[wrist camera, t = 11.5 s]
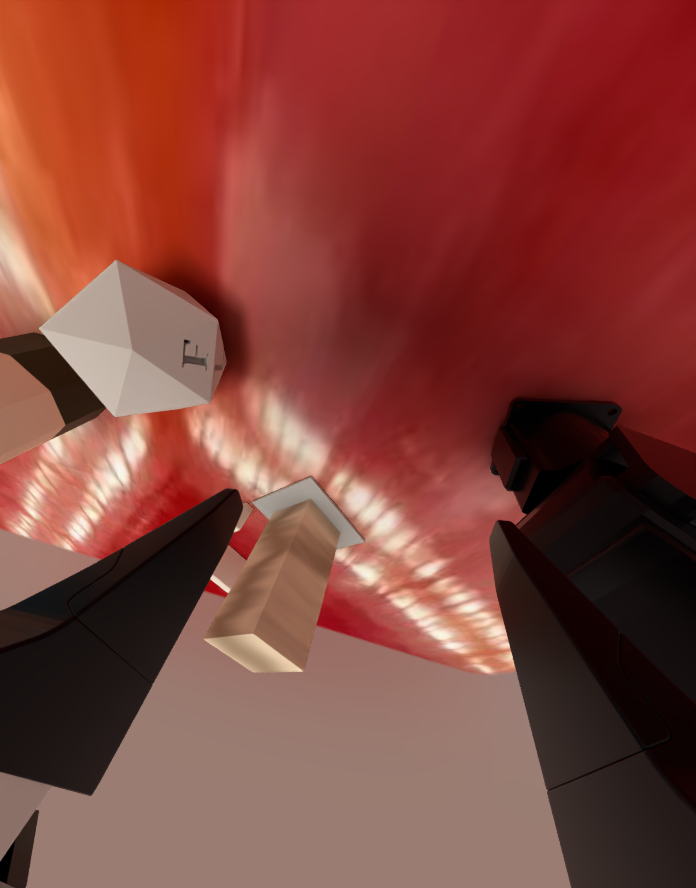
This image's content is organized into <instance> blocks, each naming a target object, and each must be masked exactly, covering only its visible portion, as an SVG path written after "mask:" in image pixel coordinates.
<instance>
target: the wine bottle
mask: <svg viewBox="0 0 696 888" xmlns="http://www.w3.org/2000/svg"><path fill="white" fill-rule="evenodd" d="M104 409H106V407H105V405H104V404H103V403H102V402H101V401H100V400H99V398H98V397H97V396H96V395H95V394H94V393H93V391H92V390H91V389H90V388H89V387H88V386H87V384H86V383H85V382H84V381H83V380H82V378H81V377H80V376H79V375H78V374H77V373H76V371H75V370H74V369H73V368H72V367H71V366H70V364H69V363H68V362H67V361H66V360H65V359H64V357H63V356H62V355H61V354H60V353H59V352H58V350H57V349H56V348H55V347H54V346H53V345H52V343H51V342H50V341H49V340H48V339H47V338H46V336H44V335H40V334H37V333H29V334H24V335H18V336H13V337H7V338H2V339H0V464H2V463H4V462H6V461H8V460H10V459H12V458H14V457H16V456H18V455H20V454H22V453H24V452H26V451H28V450H31V449H33V448H35V447H37V446H39V445H41V444H43V443H45V442H47V441H49V440H51V439H53V438H55V437H57V436H59V435H61V434H63V433H65V432H68V431H70V430H72V429H74V428H76V427H78V426H80V425H82V424H84V423H86V422H88V421H90V420H92V419H94V418H96V417H97V416H98V415H99V414H100V413H101V412H102V411H103V410H104Z"/></svg>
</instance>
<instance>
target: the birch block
mask: <svg viewBox="0 0 696 888" xmlns="http://www.w3.org/2000/svg"><path fill="white" fill-rule="evenodd" d="M339 537H340V531H339V530H338V529H337V528H336V527H335V526H334V525H333V523H332V522H331V521H330V520H329V519H328V518H327V517H326V515H325V514H324V513H323V512H322V511H321V510H320V508H319V507H318V506H317V505H316V504H315V503H314V502H313V500H312V499H308V500H306V501H303V502H301V503H298V504H295V505H293V506H290V507H287V508H285V509H282V510H280V511H277V512H274V513H273V514H272V516H271V518H270V520H269V521H268V523H267V525H266V527H265V529H264V530H263V532H262V534H261V536H260V538H259V539H258V541H257V543H256V545H255V547H254V548H253V550H252V552H251V554H250V556H249V557H248V559H247V561H246V563H245V565H244V566H243V568H242V570H241V572H240V574H239V576H238V577H237V579H236V581H235V583H234V585H233V586H232V588H231V590H230V592H229V594H228V595H227V597H226V599H225V601H224V603H223V604H222V606H221V608H220V610H219V612H218V613H217V615H216V617H215V619H214V621H213V622H212V624H211V626H210V628H209V630H208V631H207V633H206V635H205V637H204V640H205V641H207V642H208V643H210V644H211V645H213V646H214V647H216V648H217V649H219V650H220V651H222V652H223V653H225V654H226V655H228V656H229V657H231V658H232V659H234V660H235V661H237V662H238V663H240V664H241V665H243V666H244V667H246V668H247V669H249V670H250V671H252V672H253V673H255V672H303V671H304V669H305V666H306V662H307V658H308V654H309V651H310V647H311V643H312V639H313V635H314V631H315V628H316V624H317V620H318V616H319V613H320V609H321V605H322V601H323V597H324V594H325V590H326V586H327V582H328V578H329V575H330V571H331V567H332V563H333V560H334V556H335V552H336V548H337V544H338V541H339Z"/></svg>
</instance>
